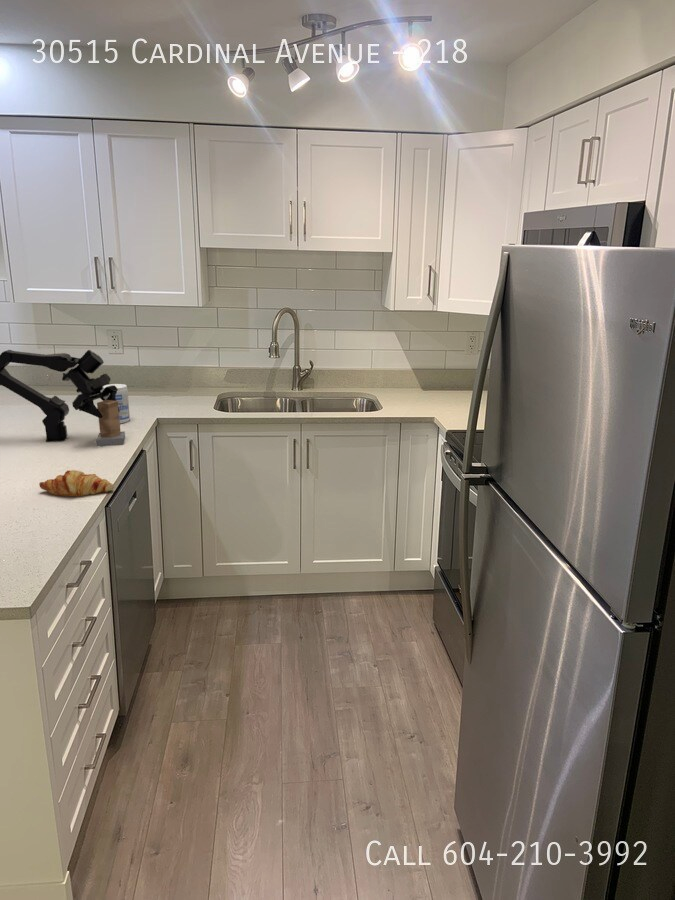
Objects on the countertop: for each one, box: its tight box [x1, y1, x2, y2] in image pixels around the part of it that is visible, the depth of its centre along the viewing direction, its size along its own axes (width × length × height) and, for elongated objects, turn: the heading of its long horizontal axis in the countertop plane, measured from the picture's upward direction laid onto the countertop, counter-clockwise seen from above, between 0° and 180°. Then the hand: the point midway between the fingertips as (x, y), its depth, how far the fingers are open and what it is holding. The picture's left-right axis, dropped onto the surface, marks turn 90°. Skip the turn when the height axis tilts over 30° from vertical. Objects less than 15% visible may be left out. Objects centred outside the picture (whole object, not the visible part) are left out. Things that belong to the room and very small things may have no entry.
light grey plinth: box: [96, 431, 126, 447], centre depth 238 cm, size 9×9×2 cm
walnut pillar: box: [96, 400, 122, 438], centre depth 235 cm, size 5×5×12 cm
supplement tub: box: [102, 383, 131, 424], centre depth 264 cm, size 10×10×15 cm
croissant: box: [38, 469, 115, 497], centre depth 189 cm, size 21×10×8 cm, turn 94°
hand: (110, 414), depth 235 cm, fingers open, 9 cm apart
